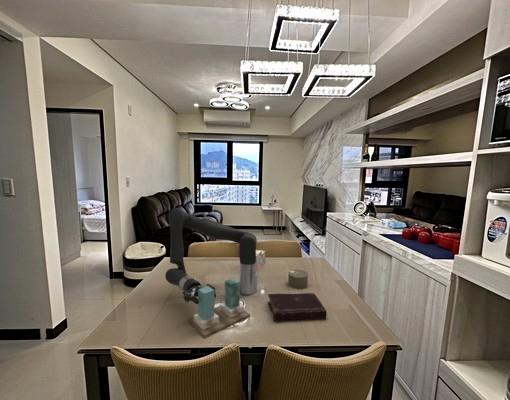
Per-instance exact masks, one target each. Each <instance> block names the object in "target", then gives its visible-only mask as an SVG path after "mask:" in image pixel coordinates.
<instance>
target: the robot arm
mask: <svg viewBox="0 0 510 400" xmlns="http://www.w3.org/2000/svg"><path fill="white" fill-rule="evenodd" d="M168 222H169V230H170V231H169V232H170V249H169V263H170V264H173V265H176V267H177V268H175V267H174V268H169V269H167V271H165V273H164V274H165V275H164V276H165V281H167V282H168V284H170V285H173V286H177V287H179V289H180V290H181V291H182V292H181V294H182V296H181V298H182V299H183V300H184V301H185V302H186V303H190V302H192V303H194V304H195V305H198V304H199V300H198V289H201V288H204V287H207V286H209V287H210V288H212V289H213V290H214V299H216V297H217V293H216V287H214V286H213V285H211V284H209V283H207V284H206V286H204V285H202V283H200V281H198V280H196V279H195V278H194V277H192V276H190V275H189V274H187V270H186V267H185V261H184V254H185V252H184V250H185V249H184V247H185V246H184V240H183V228H187V229H190V230H193V231H195V232H197V233H198V234H199V233H200V234H201V235H203V236H206V237H208V238H212V239H215V240H218V241H219V240H220V241H230V242H234V243H235V244H238V248H239V249H238V251H239V253H238V256H239V281H240V293H241V294H242V295H244V296H245V295H247V296H249V295H253V294H255V293H256V291H258V274H257V273H256V250H257V242H258V240H257V236H256V235H254V234H253V232H248V231H244V230H240V229H236V228H233V227H230V226H229V225H225V224H223V223H220V222H218V221H215V220H212V219H207V218H201V217H197V216H194V215H192V214H190V213H188V212H186V211H184V209H182V208H180V207H176V208H175V207H174V208H173V209H171V210H170V211H169V213H168Z"/></svg>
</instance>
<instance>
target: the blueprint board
mask: <svg viewBox="0 0 510 400" xmlns="http://www.w3.org/2000/svg"><path fill="white" fill-rule="evenodd" d="M240 296H241V295H240V280H238V279H236V278H234V277H233V278H229V279H227V280H224V302H223V303H221V304H220V305H218V306H216V307H214V316H213V317H211V318H209V319H206V320H203V319H202V318H201V317H200V316H199V312H198V313H196V314H194V315H193V316H192V317H191V316H190V317H189V318H187V319H188V322H189V323H190V324H191V326H193V327H194V328H195V329H196V331H198V333H199V334H200V335H201V336H202V337H203V338H204V339H205V338H207V337H210V336H212V335H214V334H216V333H218V332H220V331H223V330H225V329H227V328H228V327H231V326H233V325H235V324H237V323H240V322H241V321H243V320H246V319H248V318H250V317H251V314H250V313H249V312H247V311H246V310H245V306H244V305H243V304H242V303H240V300H241V299H240Z"/></svg>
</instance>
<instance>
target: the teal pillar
mask: <svg viewBox="0 0 510 400" xmlns="http://www.w3.org/2000/svg"><path fill="white" fill-rule="evenodd" d="M206 286H207V285H206ZM197 298H198V300H199V304H197V305H198V306H197V307H198V311H197V312H198V313H199V316H200V317H201V318H202V319H203V320H206V319H209V318H211V317H213V316H214V308H215V298H214V290H213V289H212V288H210V287H209V286H207V287H205V286H204V288H201V289H198V297H197Z"/></svg>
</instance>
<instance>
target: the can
mask: <svg viewBox="0 0 510 400" xmlns="http://www.w3.org/2000/svg"><path fill="white" fill-rule="evenodd" d="M287 274H288V279H287V280H288V281H287V282H288V283H287V284H288V286H289V287H291V288H295V289H305V288H307V287H308V282H309V281H308V277H309V273H308V272H307V271H305V270H301V269H292V270H291V269H290V270H288V272H287Z"/></svg>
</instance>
